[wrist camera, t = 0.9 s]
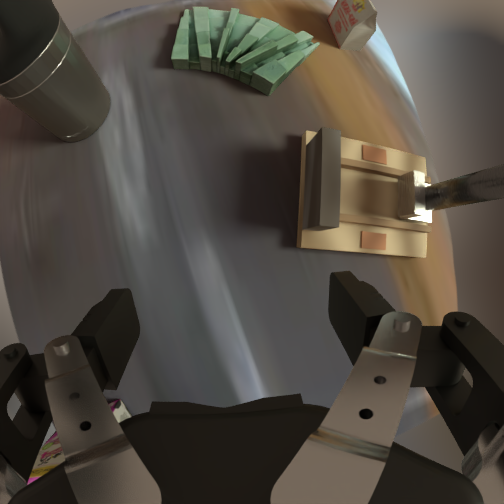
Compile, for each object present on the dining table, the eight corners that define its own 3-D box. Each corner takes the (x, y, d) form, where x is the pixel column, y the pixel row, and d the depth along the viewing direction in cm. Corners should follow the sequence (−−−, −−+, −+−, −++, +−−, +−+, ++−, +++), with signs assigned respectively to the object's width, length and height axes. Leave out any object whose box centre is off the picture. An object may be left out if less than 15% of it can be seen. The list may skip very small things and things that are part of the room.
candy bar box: (119, 395, 33) (73, 469, 17) (140, 424, 34) (108, 505, 17) (64, 416, 32) (12, 478, 16) (84, 442, 33) (42, 510, 16)
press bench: (417, 161, 38) (451, 146, 30) (417, 257, 38) (454, 258, 30) (301, 136, 36) (322, 110, 28) (296, 247, 36) (318, 246, 28)
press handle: (422, 187, 36) (547, 150, 15) (422, 223, 36) (554, 207, 15) (389, 179, 35) (519, 129, 14) (389, 218, 35) (528, 193, 14)
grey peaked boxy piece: (347, 21, 37) (370, -15, 27) (360, 51, 37) (387, 15, 27) (327, 19, 36) (347, -20, 27) (339, 49, 37) (364, 10, 27)
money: (168, 95, 34) (163, 76, 30) (184, 13, 34) (182, -7, 30) (319, 104, 37) (331, 88, 32) (312, 23, 37) (321, 4, 32)
